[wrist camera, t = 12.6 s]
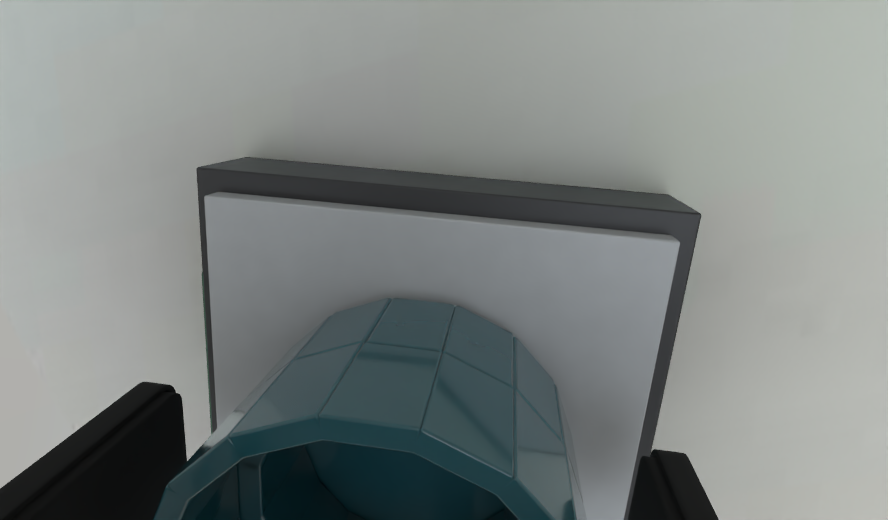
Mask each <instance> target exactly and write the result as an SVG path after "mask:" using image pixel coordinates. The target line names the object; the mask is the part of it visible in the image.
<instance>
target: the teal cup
mask: <svg viewBox="0 0 888 520" xmlns="http://www.w3.org/2000/svg"><path fill="white" fill-rule="evenodd" d="M152 520H587V518H586V512H585V508H584V505H583V497H582V491H581V485H580V480H579V474H578V468H577V462H576V457H575V451H574V445H573V440H572V434H571V431H570V427H569V424H568V421H567V417H566V414H565V411H564V408H563V404H562V401H561V398H560V395H559V391H558V388H557V386H556V385H555V384H554V381H553V379H552V377H551V376H550V375H549V374H548V373H547V372H546V371H545V369H544V368H543V367H542V366H541V365H540V364H539V362H538V361H537V360H536V359H535V358H534V357H533V356H532V354H531V353H530V352H529V351H528V350H527V349H526V347H525V346H524V345H523V344H522V343H521V342H520V340H519V339H518V338H516V337H515V336H514V337H513V334H512V333H511V332H509V331H507V330H505V329H503V328H501V327H499V326H497V325H495V324H494V323H492V322H490V321H488V320H486V319H484V318H482V317H480V316H478V315H476V314H474V313H472V312H470V311H468V310H466V309H465V308H463V307H461V306H458V305H456V306H454V305H452V304H446V303H437V302H428V301H419V300H410V299H402V298H393V299H391V298H385V299H382V300H378V301H374V302H371V303H367V304H364V305H360V306H356V307H353V308H349V309H346V310H342V311H338V312H335V313H334V314H333V315H331V316H328V317H327V318H326V319H325V320H324V321H322V322H321V323H320V324H319V325H318V326H316V327H315V328H314V329H313V330H312V331H310V332H309V333H308V334H307V335H306V336H304V337H303V338H302V339H301V340H300V341H298V342H297V343H296V344H295V345H293V346H292V347H291V348H290V349H289V351H288V352H287V353H286V354H285V355H284V356H283V357H282V358H281V359H280V360H279V362H278V363H277V364H276V365H275V366H274V367H273V368H272V369H271V370H270V371H269V373H268V374H267V375H266V376H265V377H264V378H263V379H262V380H261V381H260V382H259V384H258V385H257V386H256V387H255V388H254V389H253V390H252V391H251V392H250V394H249V395H248V396H247V398H245V399H244V400H243V401H242V402H241V403H240V404H239V405H238V406H237V407H236V408H235V410H234V411H233V412H232V413H231V414H230V415H229V416H228V417H227V418H226V419H225V421H224V422H223V423H222V424H221V425H220V426H219V427H218V428H217V429H216V430H215V432H214V433H213V434H212V435H211V436H210V437H209V438H208V439H207V440H206V441H205V443H204V444H203V445H202V446H201V447H200V448H199V449H198V450H197V451H196V452H195V454H194V455H193V456H192V457H191V458H190V459H189V460H188V461H187V462H186V463H185V465H184V466H183V467H182V468H181V469H180V470H179V471H178V472H177V473H176V474H175V476H174V477H173V478H172V479H171V480H170V481H169V483H168V484H167V485H166V487H165V490H164V492H163V494H162V497H161V499H160V502H159V504H158V507H157V509H156V512H155V514H154V517H153V519H152Z"/></svg>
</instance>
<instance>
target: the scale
mask: <svg viewBox="0 0 888 520" xmlns="http://www.w3.org/2000/svg"><path fill="white" fill-rule="evenodd" d="M197 184H198V201H199V217H200V234H201V251H202V268H203V272H202V286H203V303H204V319H205V336H206V353H207V369H208V386H209V403H210V419H211V435H212V434H213V433H214V432H215V430H216V429H217V428H218V427H219V426H220V425H221V424H222V423H223V422H224V421H225V419H226V418H227V417H228V416H229V415H230V414H231V413H232V412H233V411H234V410H235V408H236V407H237V406H238V405H239V404H240V403H241V402H242V401H243V400H244V399H245V398H247V396H248V395H249V394H250V392H251V391H252V390H253V389H254V388H255V387H256V386H257V385H258V384H259V382H260V381H261V380H262V379H263V378H264V377H265V376H266V375H267V374H268V373H269V371H270V370H271V369H272V368H273V367H274V366H275V365H276V364H277V363H278V362H279V360H280V359H281V358H282V357H283V356H284V355H285V354H286V353H287V352H288V351H289V349H290V348H291V347H292V346H293V345H295V344H296V343H297V342H298V341H300V340H301V339H302V338H303V337H304V336H306V335H307V334H308V333H309V332H310V331H312V330H313V329H314V328H315V327H316V326H318V325H319V324H320V323H321V322H322V321H324V320H325V319H326V318H327V317H328V316H331V315H333V314H334V313H335V312H338V311H342V310H346V309H349V308H353V307H356V306H360V305H364V304H367V303H371V302H374V301H378V300H382V299H385V298H391V299H393V298H402V299H410V300H419V301H428V302H437V303H446V304H452V305H454V306H456V305H458V306H461V307H463V308H465V309H466V310H468V311H470V312H472V313H474V314H476V315H478V316H480V317H482V318H484V319H486V320H488V321H490V322H492V323H494V324H495V325H497V326H499V327H501V328H503V329H505V330H507V331H509V332H511V333H512V334H513V337H514V336H515V337H516V338H518V339H519V340H520V342H521V343H522V344H523V345H524V346H525V347H526V349H527V350H528V351H529V352H530V353H531V354H532V356H533V357H534V358H535V359H536V360H537V361H538V362H539V364H540V365H541V366H542V367H543V368H544V369H545V371H546V372H547V373H548V374H549V375H550V376H551V377H552V379H553V381H554V384H555V385H556V386H557V388H558V391H559V395H560V398H561V401H562V404H563V408H564V411H565V414H566V417H567V421H568V424H569V427H570V431H571V434H572V440H573V445H574V451H575V457H576V462H577V468H578V474H579V480H580V485H581V491H582V497H583V505H584V508H585V512H586V518H587V520H628V515H629V511H630V506H631V501H632V496H633V491H634V487H635V482H636V477H637V472H638V467H639V463H640V459H641V457H642V456H649V457H650V454H651V449H652V445H653V440H654V435H655V431H656V426H657V421H658V416H659V412H660V407H661V402H662V398H663V393H664V388H665V384H666V379H667V374H668V369H669V365H670V360H671V355H672V351H673V346H674V341H675V337H676V332H677V327H678V322H679V318H680V313H681V308H682V304H683V299H684V294H685V289H686V285H687V280H688V275H689V271H690V266H691V261H692V257H693V252H694V247H695V242H696V238H697V233H698V228H699V224H700V219H701V214H700V213H699V212H697V211H695V210H694V209H692V208H690V207H689V206H687V205H685V204H684V203H682V202H680V201H678V200H677V199H675V198H673V197H672V196H670V195H666V194H654V193H643V192H632V191H621V190H610V189H598V188H587V187H576V186H565V185H553V184H542V183H531V182H520V181H508V180H497V179H486V178H475V177H463V176H452V175H441V174H430V173H419V172H407V171H396V170H385V169H374V168H362V167H351V166H340V165H329V164H317V163H306V162H295V161H284V160H273V159H261V158H250V157H245V158H240V159H236V160H231V161H226V162H221V163H216V164H211V165H206V166H201V167H198V168H197Z"/></svg>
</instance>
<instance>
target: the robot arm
mask: <svg viewBox="0 0 888 520" xmlns="http://www.w3.org/2000/svg"><path fill="white" fill-rule="evenodd" d="M186 462H187V457H186V444H185V432H184V419H183V406H182V398H181V396H180V394H178V393H176V392H175V389H174V387H173V386H171V385H166V384H158V383H151V382H142V383H140V384H138V385H137V386H135V387H134V388H133V389H131V390H130V391H129V392H127V393H126V394H125V395H123V396H122V397H121V398H119V399H118V400H117V401H116V402H114V403H113V404H112V405H110V406H109V407H108V408H106V409H105V410H104V411H102V412H101V413H100V414H98V415H97V416H96V417H94V418H93V419H92V420H90V421H89V422H88V423H86V424H85V425H84V426H83V427H81V428H80V429H79V430H77V431H76V432H75V433H73V434H72V435H71V436H69V437H68V438H67V439H65V440H64V441H63V442H62V443H60V444H59V445H57V446H56V447H55V448H53V449H52V450H51V451H50V452H48V453H47V454H46V455H44V456H43V457H42V458H40V459H39V460H38V461H36V462H35V463H34V464H32V465H31V466H30V467H28V468H27V469H26V470H24V471H23V472H22V473H20V474H19V475H18V476H16V477H15V478H14V479H13V480H11V481H10V482H9V483H7V484H6V485H5V486H3V487H2V488H1V489H0V520H152V519H153V517H154V514H155V512H156V509H157V507H158V504H159V502H160V499H161V497H162V494H163V492H164V490H165V487H166V485H167V484H168V483H169V481H170V480H171V479H172V478H173V477H174V476H175V474H176V473H177V472H178V471H179V470H180V469H181V468H182V467H183V466H184V465H185V463H186ZM628 520H718V517H717V515H716V513H715V511H714V509H713V507H712V505H711V503H710V501H709V499H708V497H707V495H706V493H705V491H704V489H703V487H702V485H701V483H700V481H699V479H698V477H697V475H696V473H695V471H694V469H693V467H692V465H691V463H690V460H689V458H688V457H687V455H686V454H684V453H678V452H671V451H663V450H656V449H654V450H653V451H652V452H651V455H650V457H649V456H642V457H641V459H640V463H639V467H638V472H637V477H636V482H635V487H634V491H633V496H632V501H631V506H630V511H629V515H628Z"/></svg>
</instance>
